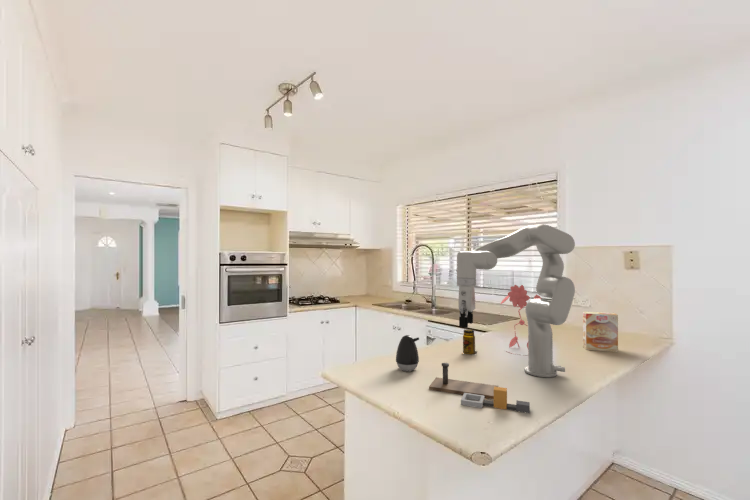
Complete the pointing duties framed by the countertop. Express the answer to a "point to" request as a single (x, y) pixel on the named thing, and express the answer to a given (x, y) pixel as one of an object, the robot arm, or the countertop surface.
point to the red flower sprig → (518, 297)
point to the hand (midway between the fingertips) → (466, 325)
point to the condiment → (469, 342)
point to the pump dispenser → (407, 354)
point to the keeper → (461, 385)
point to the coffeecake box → (600, 331)
